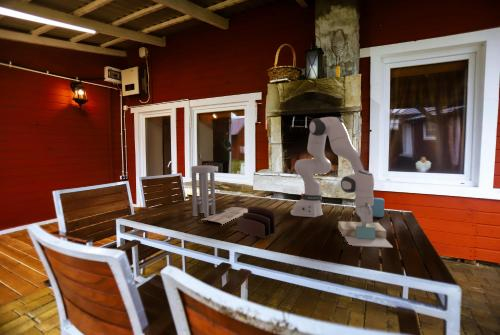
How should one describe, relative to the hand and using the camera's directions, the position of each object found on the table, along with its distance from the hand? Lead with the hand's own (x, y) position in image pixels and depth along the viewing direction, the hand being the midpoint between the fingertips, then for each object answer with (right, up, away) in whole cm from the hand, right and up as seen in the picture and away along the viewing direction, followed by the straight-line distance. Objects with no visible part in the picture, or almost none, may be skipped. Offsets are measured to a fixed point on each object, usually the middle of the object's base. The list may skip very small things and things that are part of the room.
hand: (363, 226), depth 143 cm
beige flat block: (+1, -5, +6) cm, 8 cm away
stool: (-93, -3, +45) cm, 103 cm away
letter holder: (-57, -6, +8) cm, 58 cm away
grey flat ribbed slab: (-76, -3, +42) cm, 87 cm away
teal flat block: (-1, -2, -3) cm, 4 cm away
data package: (+24, -1, +39) cm, 46 cm away
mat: (-1, -6, -8) cm, 10 cm away
